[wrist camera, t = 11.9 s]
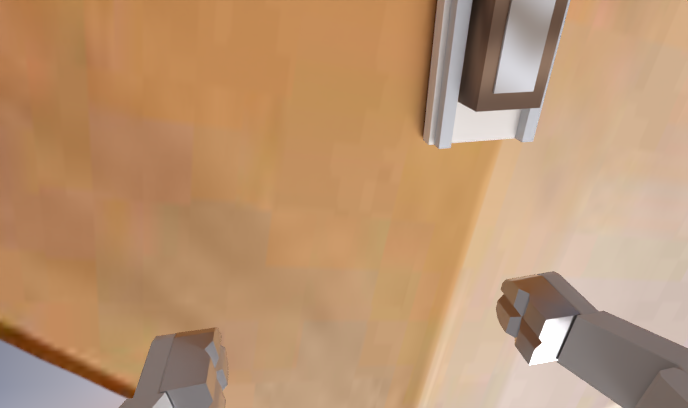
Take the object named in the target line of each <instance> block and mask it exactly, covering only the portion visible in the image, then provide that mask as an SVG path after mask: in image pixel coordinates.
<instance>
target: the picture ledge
mask: <svg viewBox="0 0 688 408" xmlns="http://www.w3.org/2000/svg"><path fill="white" fill-rule="evenodd" d="M472 1H473V0H437V10H436V20H435V29H434V39H433V49H432V58H431V68H430V78H429V87H428V97H427V107H426V116H425V126H424V136H423V140H424V141H425V142H426V143H427V144H428V145H433V144H434V145H435V146H436V147H437V148H439V149H442V148H451V143H459V142H472V141H485V140H498V139H511V138H515V139H517V140H519V141H521V142H531V141H533V139H534V135H535V132H536V128H537V124H538V120H539V117H540V113H541V109H542V105H543V102H544V98H545V94H546V90H547V86H548V83H549V79H550V75H551V71H552V68H553V64H554V60H555V56H556V53H557V49H558V45H559V41H560V37H561V34H562V30H563V26H564V22H565V19H566V15H567V11H568V7H569V4H570V0H568V3H567V7H566V11H565V15H564V18H563V22H562V26H561V30H560V34H559V37H558V41H557V45H556V49H555V53H554V56H553V60H552V64H551V68H550V71H549V75H548V79H547V83H546V87H545V90H544V94H543V98H542V102H541V106H540V108H530V109H514V110H498V111H482V112H475V111H474V110H472V109H470V108H468V107H466V106H464V105H463V104H461V103H459V102H458V96H459V90H460V83H461V76H462V69H463V62H464V56H465V49H466V42H467V35H468V28H469V22H470V15H471V8H472Z"/></svg>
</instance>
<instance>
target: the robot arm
mask: <svg viewBox="0 0 688 408" xmlns="http://www.w3.org/2000/svg"><path fill="white" fill-rule="evenodd" d="M501 291H502V292H503V293H504V295H503V296H502V297H501V298H500V299H499V300H498V302H497V307H496V312H497V318H498V320H499V322H500V325H501V326H502V328H503V329H504V331H505V332H506V333H508V334H510V335H511V336H513V337H515V346H516V348H517V349H518V350H519V352H520V353H521V355H522V356H523V357H524V359H525V360H526V361H527V363H528V364H529V365H532V364H538V363H544V362H550V361H556V360H557V362H558V363H559V364H561V365H562V366H563V367H565V368H566V369H568V370H569V371H571V372H572V373H574V374H575V375H576V376H578V377H579V378H581V379H582V380H584V381H585V382H587V383H588V384H589V385H591V386H592V387H594V388H595V389H597V390H598V391H600V392H601V393H602V394H604V395H605V396H607V397H608V398H610V399H611V400H613V401H614V402H615V403H617V404H618V405H620V406H621V407H623V408H688V348H686V347H684V346H681V345H679V344H677V343H675V342H672V341H670V340H668V339H666V338H663V337H661V336H659V335H657V334H654V333H652V332H650V331H648V330H646V329H643V328H641V327H639V326H637V325H634V324H632V323H630V322H628V321H625V320H623V319H621V318H619V317H616V316H614V315H612V314H610V313H608V312H605V311H598V310H597V309H596V308H595V307H593V306H592V305H591V304H590V303H589V302H588V301H587V300H586V299H585V298H584V297H583V296H582V295H581V294H580V293H579V292H578V291H577V290H576V289H574V288H573V287H572V286H571V285H570V284H569V283H568V282H567V281H566V280H565V279H564V278H563V277H562V276H561V275H560V274H558V273H556V272H554V271H553V272H547V273H541V274H537V275H535V274H534V275H529V276H523V277H518V278H512V279H506V280H505V281H504V282H503V283H502V287H501ZM221 337H222V336H221V333H220V331H219V328H209V329H202V330H195V331H188V332H180V333H175V334H168V335H161V336H156V337H155V339H154V340H153V341H152V343H151V346H150V349H149V352H148V355H147V358H146V361H145V364H144V367H143V370H142V373H141V376H140V379H139V382H138V385H137V388H136V391H135V394H134V397H133V398H131V399H126V400H125V402H124V403H123V404H122V405H121V406H120V407H119V408H225V405H226V400H225V397H224V394H223V390H224V388H225V387H226V386H227V384H228V358H227V353H226V349H225V347H223V346H222V345H221Z"/></svg>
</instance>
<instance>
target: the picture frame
mask: <svg viewBox="0 0 688 408" xmlns="http://www.w3.org/2000/svg"><path fill="white" fill-rule="evenodd" d="M567 3H568V0H473V1H472V8H471V15H470V22H469V28H468V35H467V42H466V49H465V56H464V62H463V69H462V76H461V83H460V90H459V96H458V102H459V103H461V104H463V105H464V106H466V107H468V108H470V109H472V110H474V111H475V112H482V111H498V110H514V109H530V108H540V106H541V102H542V98H543V94H544V90H545V87H546V83H547V79H548V75H549V71H550V68H551V64H552V60H553V56H554V53H555V49H556V45H557V41H558V37H559V34H560V30H561V26H562V22H563V18H564V15H565V11H566V7H567Z"/></svg>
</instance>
